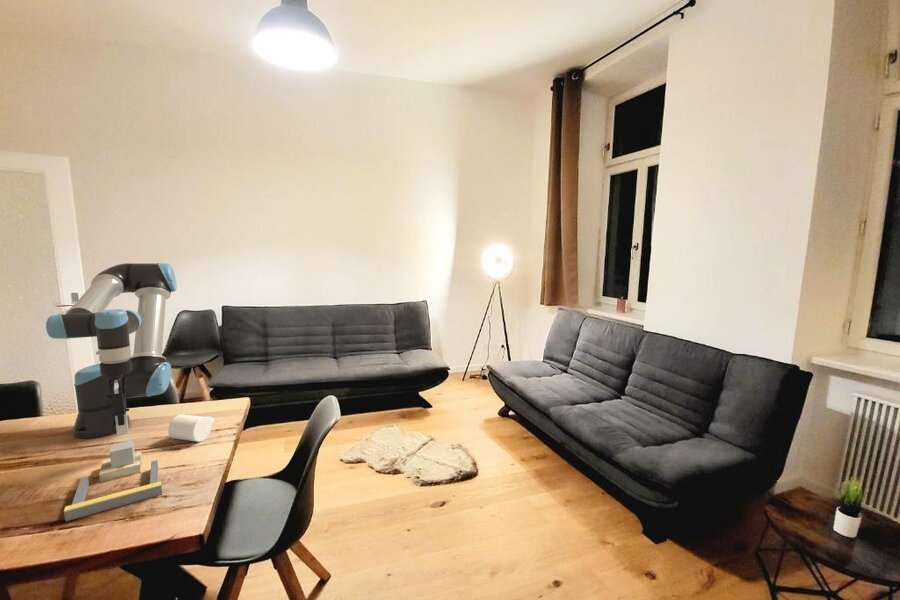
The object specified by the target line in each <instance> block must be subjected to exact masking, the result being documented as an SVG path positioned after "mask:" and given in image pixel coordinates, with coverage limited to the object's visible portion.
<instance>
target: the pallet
mask: <svg viewBox="0 0 900 600" xmlns="http://www.w3.org/2000/svg"><path fill="white" fill-rule="evenodd" d="M142 461H143V456H142V451H141V450H140V451H136V452H135V460H134V463H132V464H128V465H124V466H120V467H116V468H112V466H111V459H110V457H109V458H105V459H102V462H101V466H100V470H99V474H98V475H99V476H98V477H99V483H103V482H108V481H111V480H116V479H119V478H123V477H128V476H132V475H135V474H139V473H141V471H142V463H143V462H142Z"/></svg>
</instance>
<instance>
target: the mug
mask: <svg viewBox="0 0 900 600" xmlns="http://www.w3.org/2000/svg"><path fill="white" fill-rule="evenodd" d="M214 422H215V419H214V418H213V417H211V416H198V415H192V414H191V415H190V414H182V413H181V414H178V415H175V417H173V419H171V421H170V423H169V425H168V429H167V432H168V436H169V437H170V438H172V439H175V440H182V441H188V442H189V441H190V442H198V443H199V442H203V441H205V440H206V439H207V438H208V437H209V435H210V434H211V431H212V426H213V425H212V424H213V423H214Z"/></svg>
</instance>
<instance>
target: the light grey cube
mask: <svg viewBox="0 0 900 600" xmlns="http://www.w3.org/2000/svg"><path fill="white" fill-rule="evenodd" d="M135 451H136V450H135V444H134V440H133V439H131V440H128V441H123V442H119V443H118V442H117V443H114V444H111V446H110V450H109V456H110V457H109V458H110V459H111V466H112V468H116V467H120V466H124V465H128V464H132V463H134V460H135Z"/></svg>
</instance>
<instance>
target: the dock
mask: <svg viewBox="0 0 900 600" xmlns="http://www.w3.org/2000/svg"><path fill="white" fill-rule="evenodd" d="M158 464H159V462H158V459H156V460H152V461H151V462H150V474H149V475H150V478H149V484H144V485H142V486H138V487H134V488H130V489H127V490H123V491H119V492H114V493H112V494H108V495H104V496H99V497H96V498H92V499H89V500H86V498H87V497H86V496H87V493H88V491H89V487H90V480H89V476H85V477H81V478H80V480H79V483H78V486H77V487H76V492H75V495H74V497H73V500H72V503H71V504H70V505H67V506H64V510H63V514H64V520H65V522H70V521H72V520H75V519H80V518H83V517H86V516H89V515H90V516H91V515H93V514H98V513H100V512H105V511H108V510H111V509H115V508H118V507H119V508H120V507H123V506H126V505H129V504H132V503H136V502H140V501H144V500H146V499H147V500H148V499H151V498H154V497H157V496H158V497H159V496H162V495H163V488H162V486H163V485H162V480H160V481H159V465H158Z"/></svg>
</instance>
